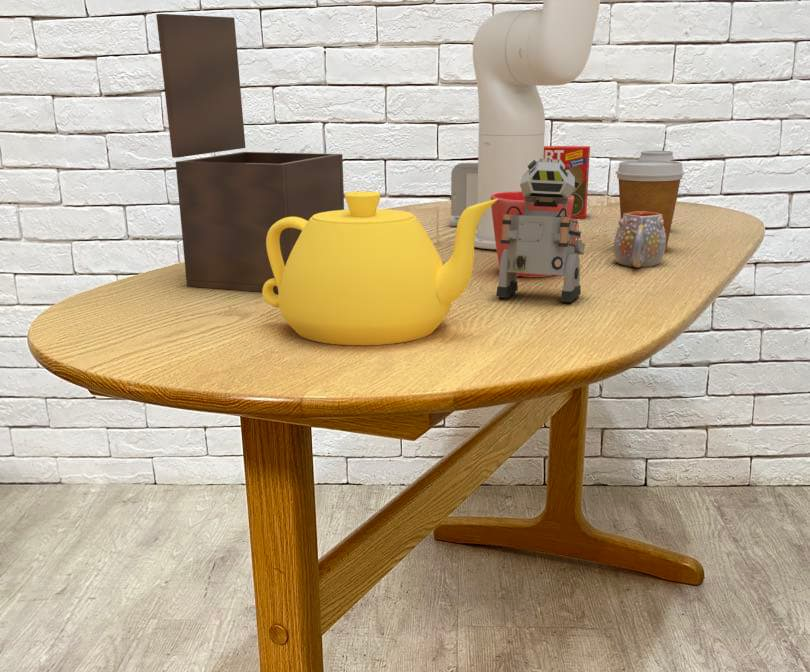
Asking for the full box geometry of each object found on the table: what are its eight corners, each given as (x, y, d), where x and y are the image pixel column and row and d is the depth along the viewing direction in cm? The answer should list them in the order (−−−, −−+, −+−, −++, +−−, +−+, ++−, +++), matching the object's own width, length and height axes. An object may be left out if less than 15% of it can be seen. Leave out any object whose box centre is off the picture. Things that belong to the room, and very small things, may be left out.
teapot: (510, 317, 118) (514, 185, 113) (475, 357, 103) (477, 206, 97) (294, 306, 125) (288, 180, 119) (230, 342, 109) (219, 199, 103)
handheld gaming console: (531, 220, 188) (534, 159, 184) (529, 227, 180) (531, 163, 176) (456, 219, 190) (456, 158, 186) (450, 226, 182) (451, 163, 178)
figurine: (592, 289, 132) (600, 158, 126) (567, 307, 122) (574, 167, 116) (520, 284, 135) (524, 156, 129) (490, 302, 126) (493, 164, 120)
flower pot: (585, 269, 144) (589, 192, 140) (546, 283, 136) (549, 201, 132) (514, 262, 150) (516, 188, 146) (473, 275, 141) (474, 197, 137)
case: (346, 272, 144) (342, 154, 138) (288, 294, 131) (281, 164, 125) (251, 265, 150) (243, 151, 144) (186, 286, 137) (175, 161, 131)
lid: (234, 17, 137) (229, 17, 138) (161, 13, 124) (155, 14, 124) (245, 148, 143) (240, 148, 144) (177, 157, 130) (172, 157, 131)
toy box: (481, 216, 193) (483, 147, 188) (485, 213, 197) (486, 145, 192) (584, 218, 189) (588, 148, 185) (586, 215, 193) (590, 146, 188)
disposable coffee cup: (683, 246, 160) (691, 160, 156) (669, 256, 152) (677, 166, 148) (620, 243, 164) (625, 159, 159) (603, 252, 156) (608, 164, 151)
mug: (615, 258, 152) (618, 208, 149) (666, 259, 150) (670, 209, 147) (604, 273, 141) (608, 220, 139) (658, 275, 140) (663, 221, 137)
